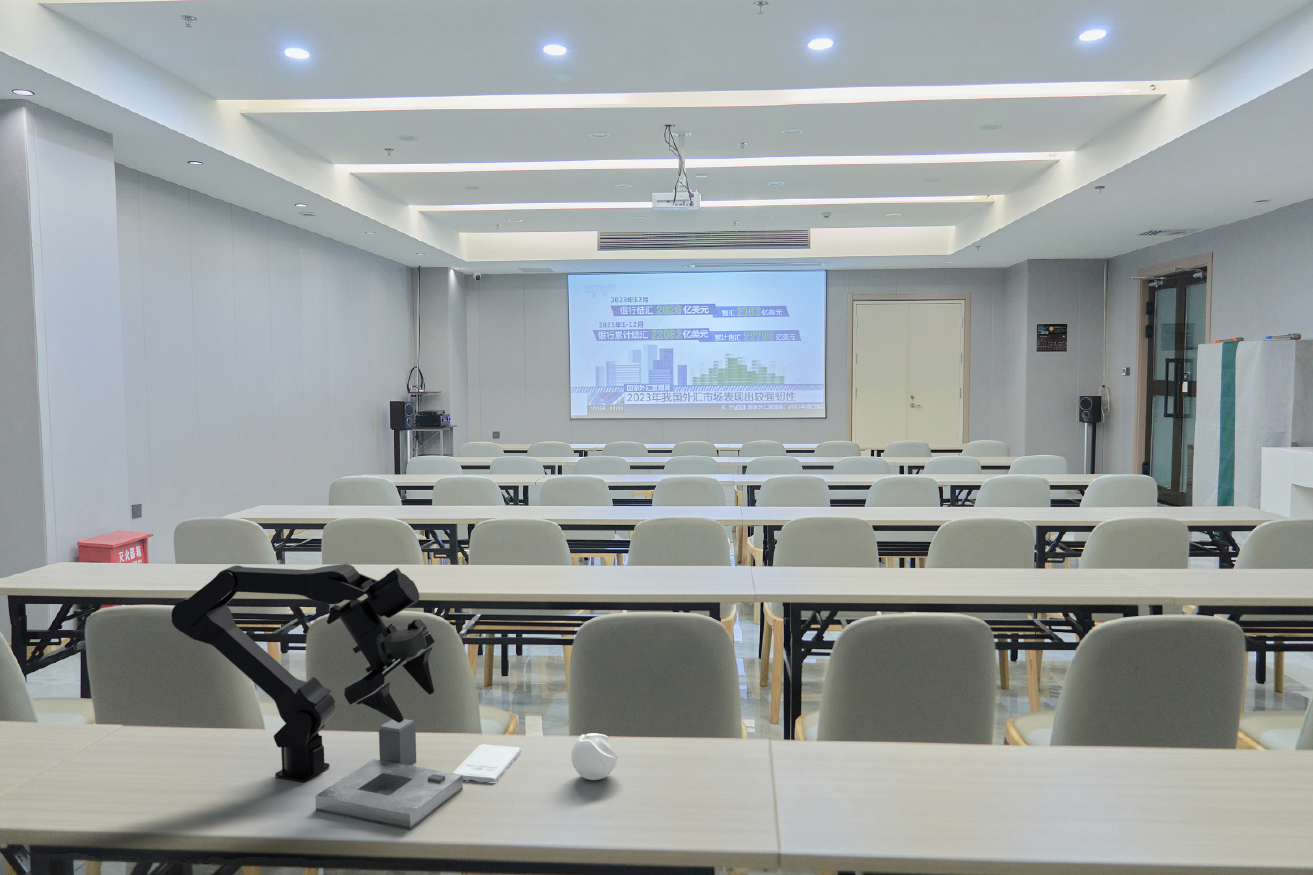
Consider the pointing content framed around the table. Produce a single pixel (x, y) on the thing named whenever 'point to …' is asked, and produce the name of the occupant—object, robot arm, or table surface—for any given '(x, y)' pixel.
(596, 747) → the motion sensor
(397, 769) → the socket
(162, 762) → the table surface
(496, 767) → the external hard drive
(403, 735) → the plug
